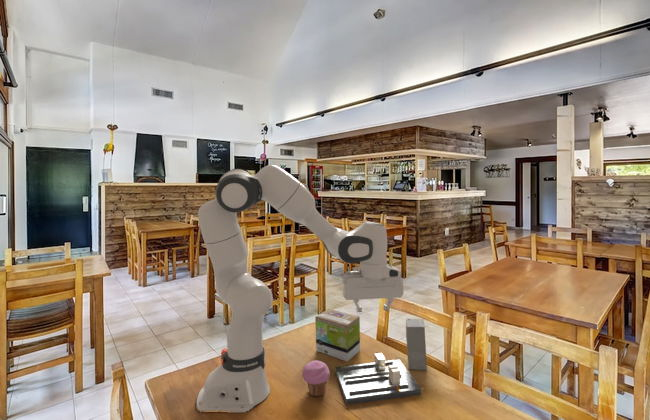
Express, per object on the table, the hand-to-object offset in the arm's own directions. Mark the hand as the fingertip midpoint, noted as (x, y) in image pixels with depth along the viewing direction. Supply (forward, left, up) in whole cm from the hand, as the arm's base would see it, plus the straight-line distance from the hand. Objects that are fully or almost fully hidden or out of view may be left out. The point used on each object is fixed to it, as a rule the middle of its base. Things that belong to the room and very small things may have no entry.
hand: (372, 310), depth 114 cm
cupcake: (-20, -3, -24) cm, 32 cm away
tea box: (-8, +21, -24) cm, 33 cm away
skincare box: (+18, +6, -24) cm, 31 cm away
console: (0, -2, -24) cm, 24 cm away
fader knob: (+5, -6, -22) cm, 23 cm away
